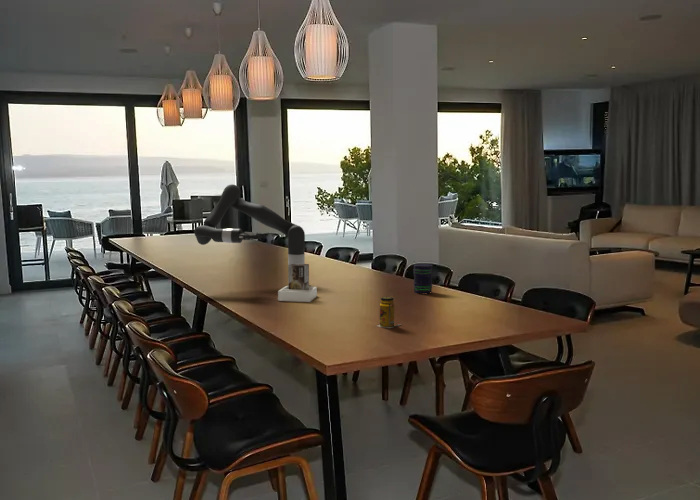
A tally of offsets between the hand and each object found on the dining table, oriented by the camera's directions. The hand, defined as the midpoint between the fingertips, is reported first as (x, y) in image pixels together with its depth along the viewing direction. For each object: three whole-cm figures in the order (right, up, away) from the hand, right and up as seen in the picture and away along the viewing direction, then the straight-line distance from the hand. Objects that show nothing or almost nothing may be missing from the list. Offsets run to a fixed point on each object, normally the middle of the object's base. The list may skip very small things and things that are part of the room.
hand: (262, 236), depth 340 cm
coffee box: (+19, -31, -7) cm, 37 cm away
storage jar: (+84, -30, +8) cm, 89 cm away
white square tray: (+19, -31, -10) cm, 38 cm away
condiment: (+61, -39, -69) cm, 100 cm away
